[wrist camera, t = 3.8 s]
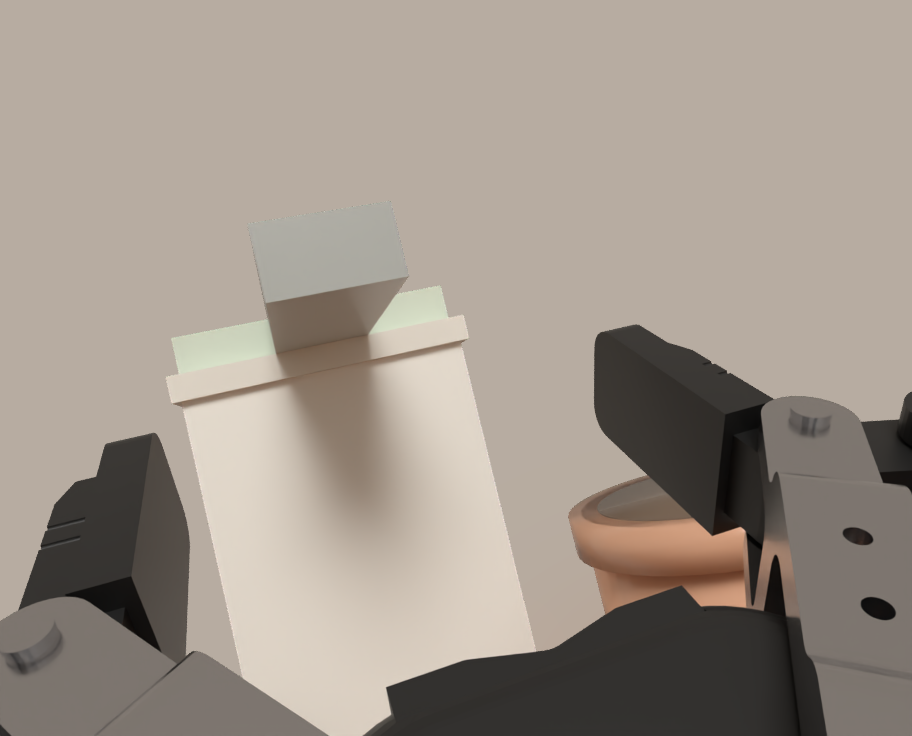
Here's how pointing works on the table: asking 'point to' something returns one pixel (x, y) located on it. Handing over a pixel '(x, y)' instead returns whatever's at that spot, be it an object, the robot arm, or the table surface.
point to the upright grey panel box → (353, 518)
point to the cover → (319, 287)
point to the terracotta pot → (655, 548)
